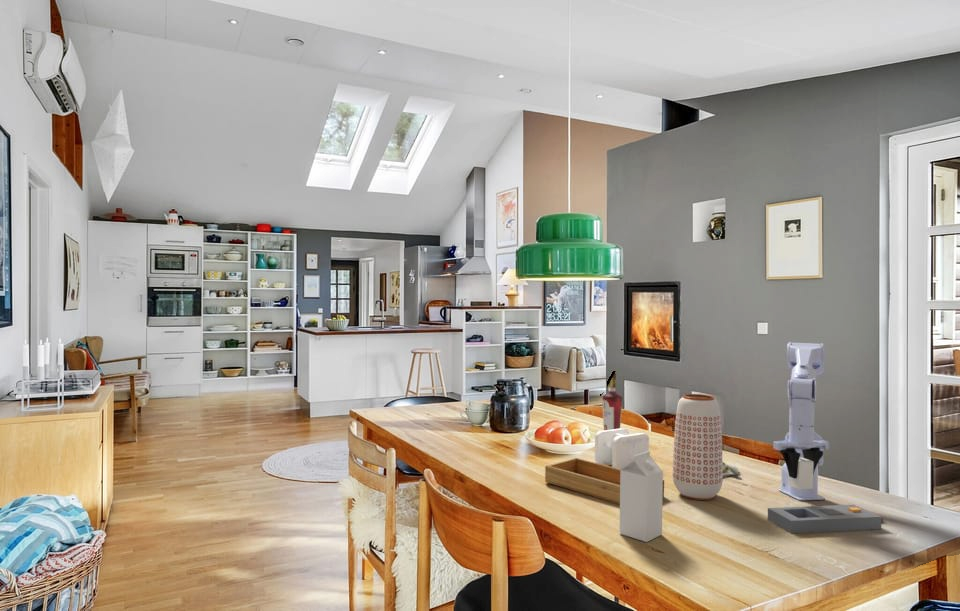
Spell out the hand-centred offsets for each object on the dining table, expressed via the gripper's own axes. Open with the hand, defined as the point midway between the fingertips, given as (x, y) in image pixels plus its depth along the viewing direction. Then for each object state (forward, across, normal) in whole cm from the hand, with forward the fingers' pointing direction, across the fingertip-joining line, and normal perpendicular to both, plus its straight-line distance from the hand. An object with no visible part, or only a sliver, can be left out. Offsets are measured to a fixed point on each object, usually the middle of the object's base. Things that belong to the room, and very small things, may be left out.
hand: (800, 477), depth 158 cm
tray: (+10, -44, +25) cm, 52 cm away
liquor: (+9, -22, +76) cm, 80 cm away
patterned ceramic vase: (+10, -19, +17) cm, 28 cm away
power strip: (+10, +3, -8) cm, 13 cm away
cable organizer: (+10, -29, +48) cm, 57 cm away
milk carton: (+10, -47, -9) cm, 49 cm away
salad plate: (+10, -2, +42) cm, 44 cm away
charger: (+2, 0, 0) cm, 2 cm away
